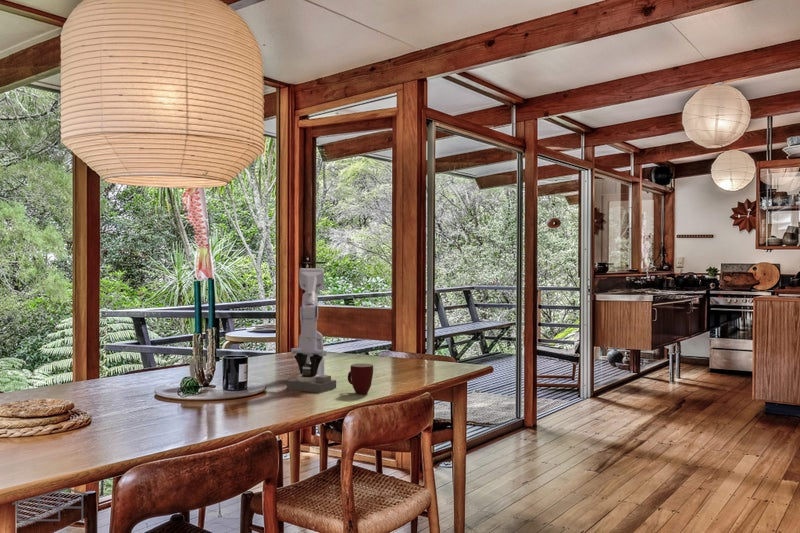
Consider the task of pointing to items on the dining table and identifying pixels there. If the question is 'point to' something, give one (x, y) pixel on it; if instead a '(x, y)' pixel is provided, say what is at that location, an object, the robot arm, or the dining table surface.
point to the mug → (361, 377)
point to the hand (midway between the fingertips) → (308, 374)
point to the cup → (193, 366)
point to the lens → (306, 370)
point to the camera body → (312, 383)
